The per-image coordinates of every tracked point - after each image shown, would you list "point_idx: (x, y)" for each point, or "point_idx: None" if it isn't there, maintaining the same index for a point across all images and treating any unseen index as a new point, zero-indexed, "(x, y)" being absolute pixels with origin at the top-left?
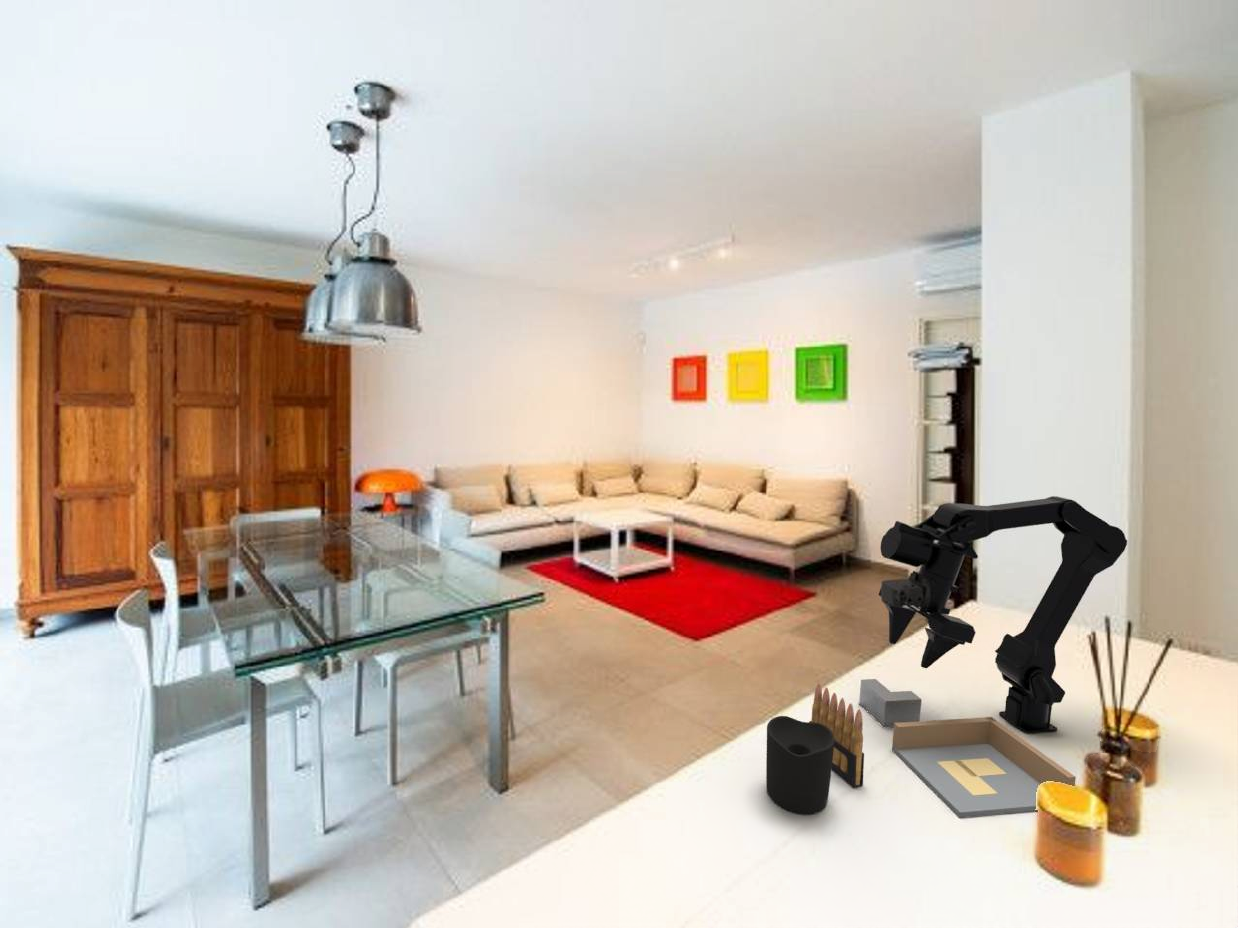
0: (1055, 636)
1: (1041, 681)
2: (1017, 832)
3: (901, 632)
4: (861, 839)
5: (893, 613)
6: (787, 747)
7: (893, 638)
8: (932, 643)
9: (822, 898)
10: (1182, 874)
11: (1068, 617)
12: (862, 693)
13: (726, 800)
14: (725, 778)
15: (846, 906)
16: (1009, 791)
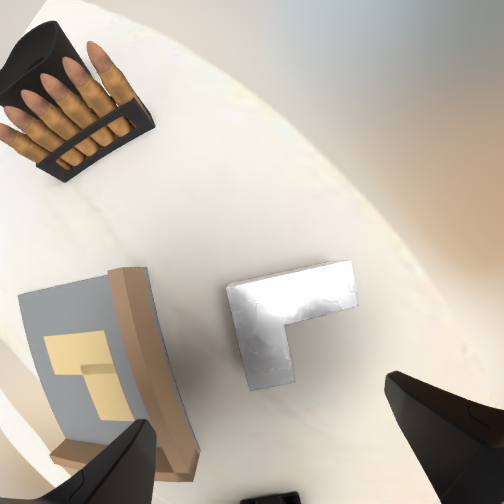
0: None
1: None
2: (18, 349)
3: (412, 440)
4: (8, 163)
5: (496, 449)
6: (44, 57)
7: (397, 394)
8: (50, 494)
9: None
10: (25, 446)
11: None
12: (327, 263)
13: (77, 46)
14: (106, 38)
15: None
16: (63, 393)
